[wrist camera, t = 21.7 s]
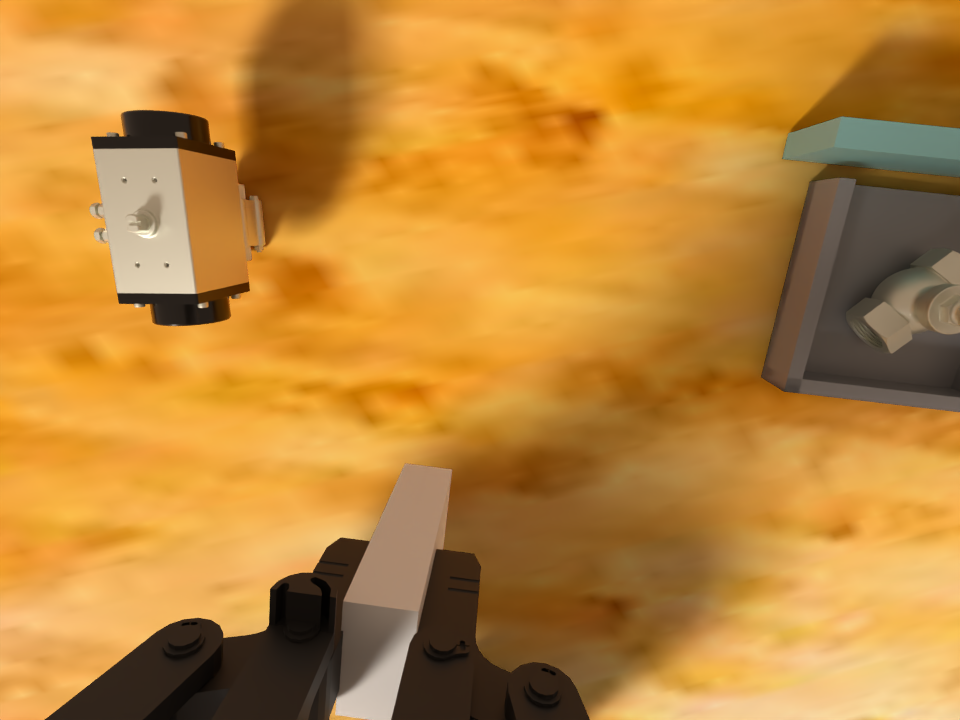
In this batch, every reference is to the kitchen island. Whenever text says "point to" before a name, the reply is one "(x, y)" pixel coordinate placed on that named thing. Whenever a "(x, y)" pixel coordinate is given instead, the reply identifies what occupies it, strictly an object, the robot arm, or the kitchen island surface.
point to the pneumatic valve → (175, 217)
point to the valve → (911, 303)
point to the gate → (878, 146)
